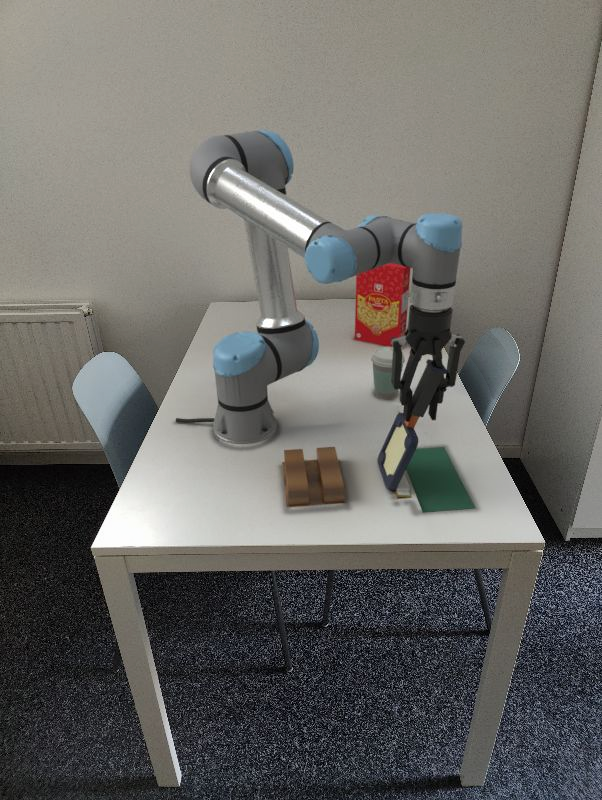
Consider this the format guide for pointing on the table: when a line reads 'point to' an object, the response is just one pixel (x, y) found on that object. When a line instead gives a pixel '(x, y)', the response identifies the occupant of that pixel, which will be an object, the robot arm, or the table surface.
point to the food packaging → (382, 304)
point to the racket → (407, 429)
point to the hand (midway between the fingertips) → (419, 417)
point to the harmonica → (403, 489)
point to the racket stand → (312, 478)
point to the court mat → (437, 481)
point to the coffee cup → (384, 372)
